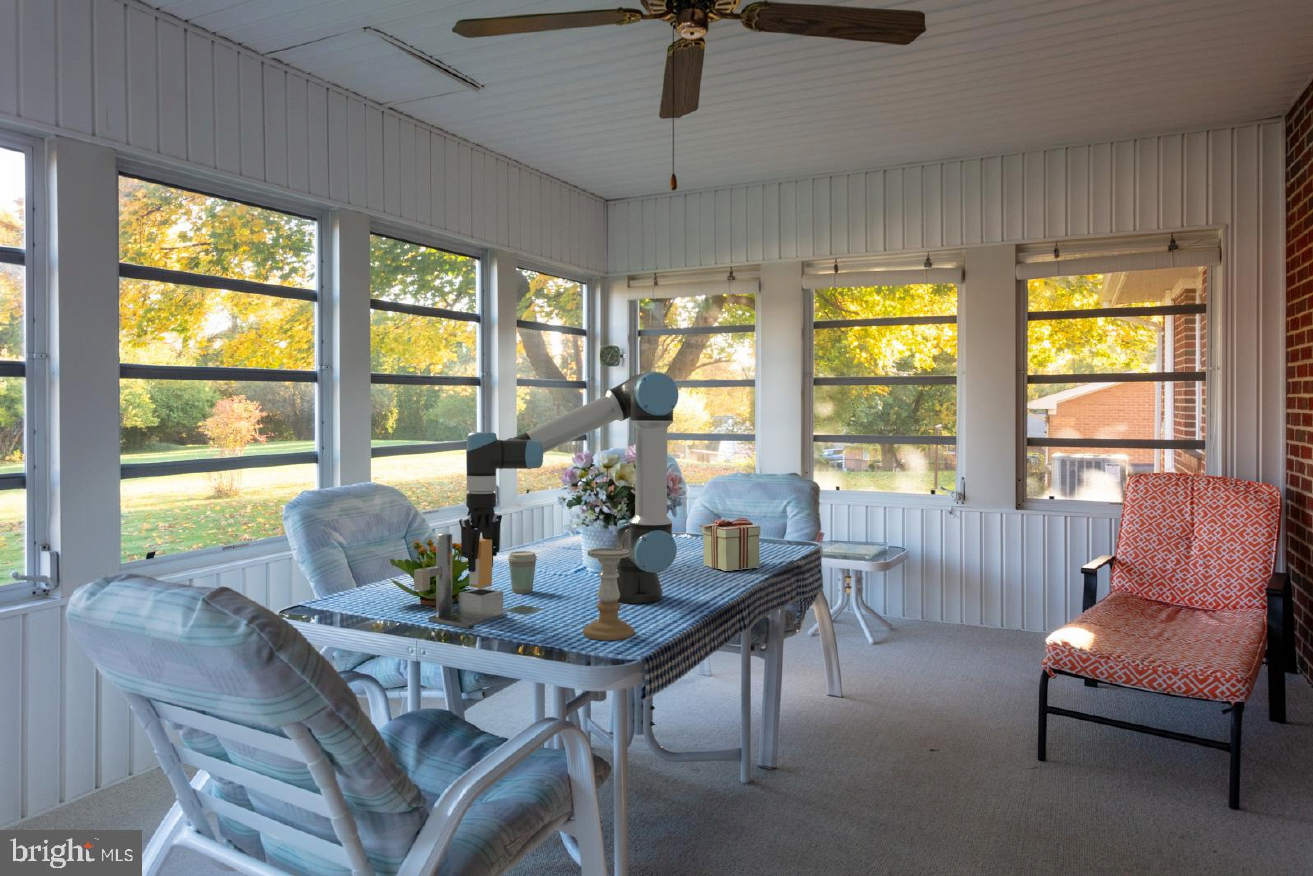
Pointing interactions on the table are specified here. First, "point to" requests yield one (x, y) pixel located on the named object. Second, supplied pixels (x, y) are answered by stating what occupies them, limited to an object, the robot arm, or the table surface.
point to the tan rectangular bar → (484, 563)
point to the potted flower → (430, 561)
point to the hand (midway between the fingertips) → (480, 582)
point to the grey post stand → (471, 603)
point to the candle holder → (608, 598)
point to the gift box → (731, 544)
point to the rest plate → (523, 609)
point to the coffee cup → (522, 571)
